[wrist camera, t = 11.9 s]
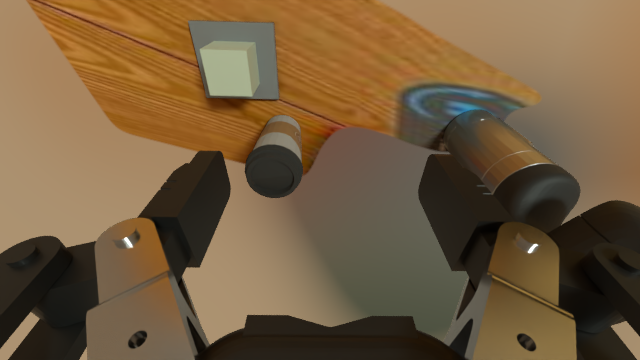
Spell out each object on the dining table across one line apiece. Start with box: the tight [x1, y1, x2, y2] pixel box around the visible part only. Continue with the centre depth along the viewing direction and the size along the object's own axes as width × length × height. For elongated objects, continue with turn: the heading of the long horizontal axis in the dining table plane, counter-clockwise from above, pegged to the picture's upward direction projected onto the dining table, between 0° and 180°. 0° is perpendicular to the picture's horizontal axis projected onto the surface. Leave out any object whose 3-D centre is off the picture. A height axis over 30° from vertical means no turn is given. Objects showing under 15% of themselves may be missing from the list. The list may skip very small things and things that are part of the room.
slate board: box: [188, 20, 279, 99], centre depth 40 cm, size 12×11×1 cm
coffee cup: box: [245, 115, 303, 198], centre depth 42 cm, size 8×8×15 cm
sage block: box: [200, 41, 260, 97], centre depth 38 cm, size 6×6×6 cm
